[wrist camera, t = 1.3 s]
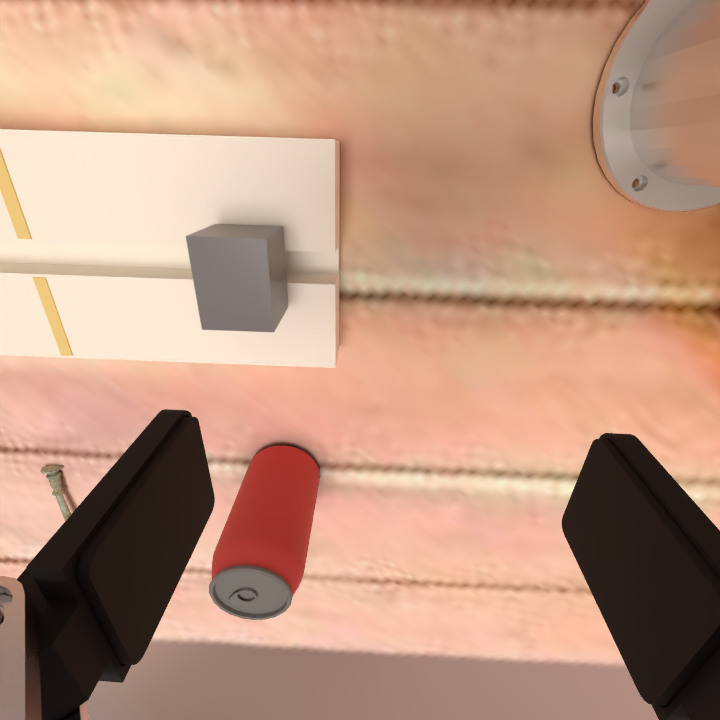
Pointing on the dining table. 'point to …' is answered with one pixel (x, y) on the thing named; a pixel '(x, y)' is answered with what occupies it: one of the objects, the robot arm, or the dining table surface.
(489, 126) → the dining table surface
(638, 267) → the dining table surface
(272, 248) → the fader knob
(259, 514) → the beer can
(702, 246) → the dining table surface
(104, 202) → the slider console
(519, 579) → the dining table surface
